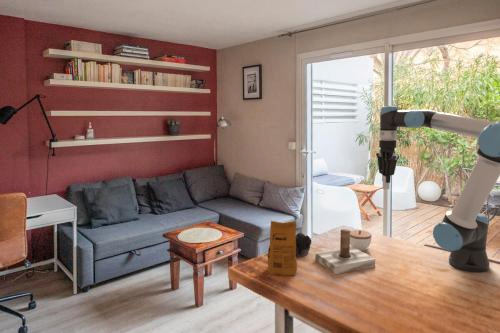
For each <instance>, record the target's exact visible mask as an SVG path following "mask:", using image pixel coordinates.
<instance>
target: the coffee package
mask: <svg viewBox="0 0 500 333" xmlns="http://www.w3.org/2000/svg"><path fill="white" fill-rule="evenodd" d="M296 231H297V221H296V220H295V221H287V222H281V221H275V220H270V231H269V232H270V233H269V234H270V235H269V236H270V238H269V246H268V249H267V250H268V251H267V273H268V274H269V275H270V276H276V275H279V276H282V277H288V276H289V277H290V276H295V275H297V272H298V262H297V261H298V260H297V256H296V235H297V233H296Z"/></svg>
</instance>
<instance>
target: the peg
mask: <svg viewBox="0 0 500 333" xmlns="http://www.w3.org/2000/svg"><path fill="white" fill-rule="evenodd" d="M350 231H351V230H350V229H349V228H348V229H346V228H343V229H342V228H341V229H340V240H339V241H340V243H339V244H340V245H339V249H340V257H341V258H349V257H350V255H349V254H350V247H351V245H350Z"/></svg>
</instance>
